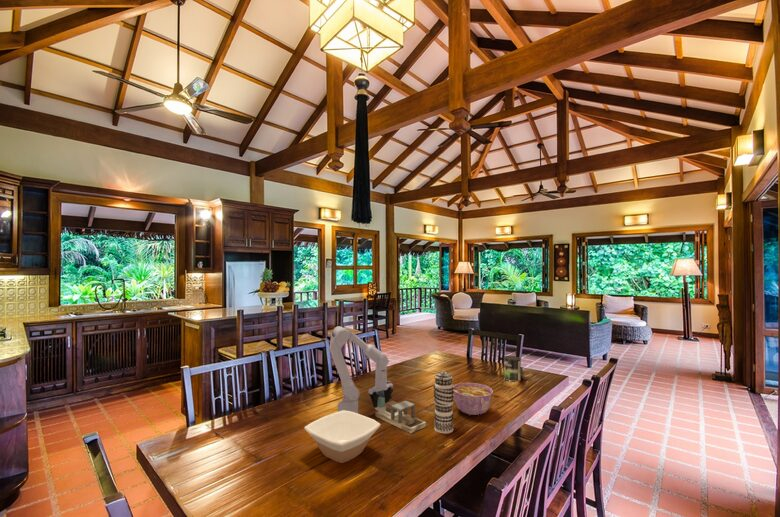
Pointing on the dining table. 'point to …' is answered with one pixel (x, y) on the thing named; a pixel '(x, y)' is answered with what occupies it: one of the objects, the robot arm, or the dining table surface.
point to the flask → (381, 393)
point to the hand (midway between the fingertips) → (381, 405)
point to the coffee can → (512, 368)
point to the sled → (384, 407)
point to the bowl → (342, 434)
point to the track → (403, 417)
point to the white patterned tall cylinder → (443, 402)
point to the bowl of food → (472, 398)
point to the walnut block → (388, 406)
